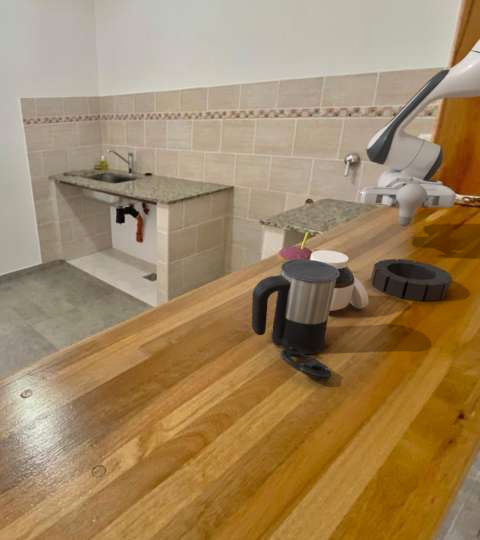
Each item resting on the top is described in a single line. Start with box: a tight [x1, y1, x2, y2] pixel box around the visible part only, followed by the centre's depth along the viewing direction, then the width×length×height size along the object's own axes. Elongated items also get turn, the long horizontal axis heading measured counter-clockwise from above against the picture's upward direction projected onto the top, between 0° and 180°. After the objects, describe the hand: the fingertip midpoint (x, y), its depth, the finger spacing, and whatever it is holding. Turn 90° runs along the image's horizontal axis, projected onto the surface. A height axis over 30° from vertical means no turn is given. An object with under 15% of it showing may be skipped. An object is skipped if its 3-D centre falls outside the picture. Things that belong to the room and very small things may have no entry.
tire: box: [370, 258, 453, 303], centre depth 87 cm, size 14×14×4 cm
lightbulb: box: [396, 183, 427, 227], centre depth 96 cm, size 6×6×11 cm
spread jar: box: [310, 249, 369, 315], centre depth 80 cm, size 12×11×12 cm
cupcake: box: [277, 229, 314, 265], centre depth 95 cm, size 9×8×12 cm
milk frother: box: [251, 259, 339, 381], centre depth 65 cm, size 14×16×15 cm
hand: (410, 204), depth 95 cm, fingers closed on lightbulb, 6 cm apart
